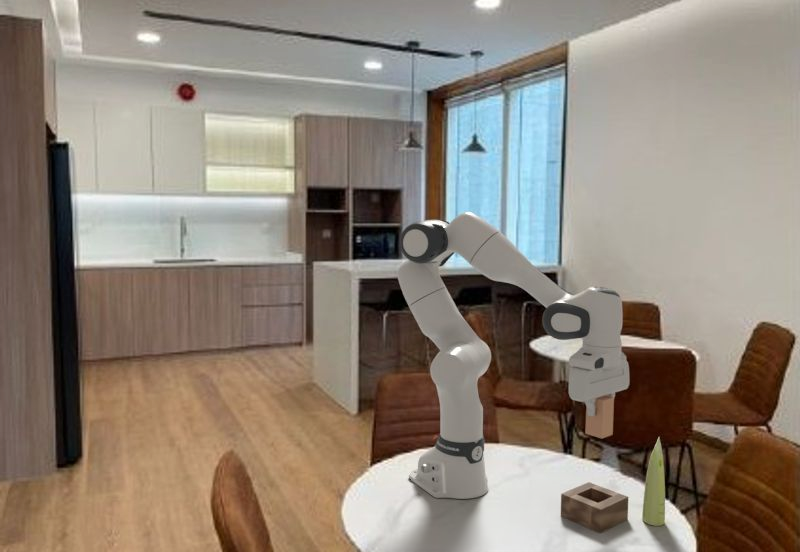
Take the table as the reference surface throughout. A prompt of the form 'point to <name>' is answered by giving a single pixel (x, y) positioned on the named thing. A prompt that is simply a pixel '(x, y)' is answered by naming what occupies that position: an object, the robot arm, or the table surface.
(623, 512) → the socket block
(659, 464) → the tube
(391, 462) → the table surface
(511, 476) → the table surface
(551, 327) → the robot arm
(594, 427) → the peg
